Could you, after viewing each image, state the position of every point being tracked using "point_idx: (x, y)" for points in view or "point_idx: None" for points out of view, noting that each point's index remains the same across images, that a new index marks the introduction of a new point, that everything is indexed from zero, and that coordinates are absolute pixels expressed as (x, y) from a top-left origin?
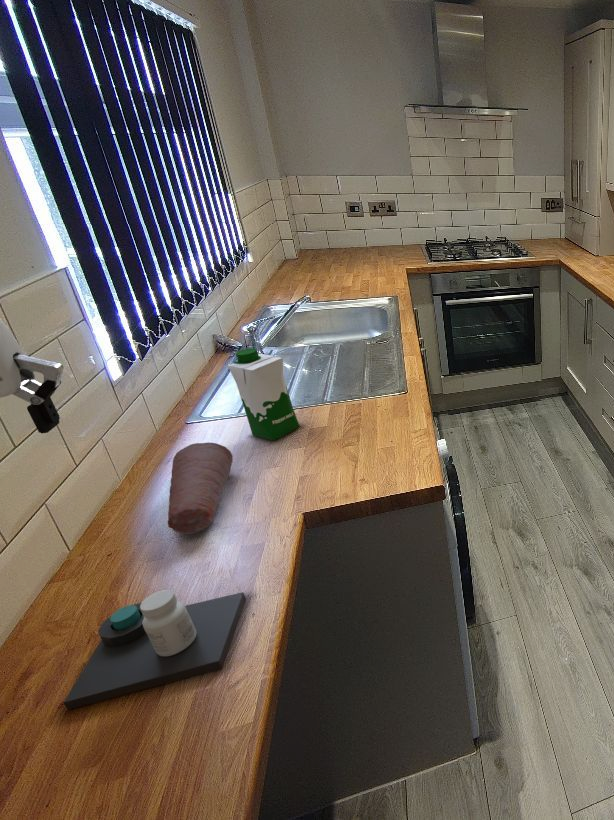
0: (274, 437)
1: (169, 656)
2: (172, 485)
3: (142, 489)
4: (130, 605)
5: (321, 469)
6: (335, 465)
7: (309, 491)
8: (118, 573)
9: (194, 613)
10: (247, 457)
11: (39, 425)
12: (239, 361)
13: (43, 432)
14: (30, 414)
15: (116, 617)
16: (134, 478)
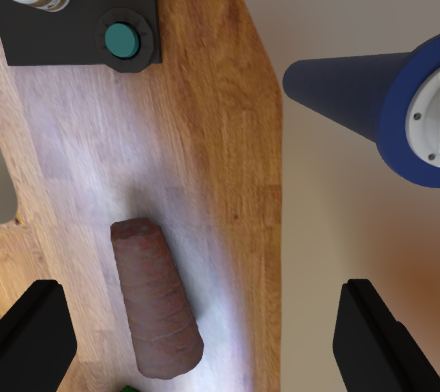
0: (124, 390)
1: None
2: (173, 302)
3: (252, 333)
4: (118, 55)
5: None
6: None
7: (31, 266)
8: (208, 176)
9: (55, 42)
10: None
11: (22, 301)
12: None
13: (44, 280)
14: (3, 354)
15: (125, 34)
16: (271, 357)
